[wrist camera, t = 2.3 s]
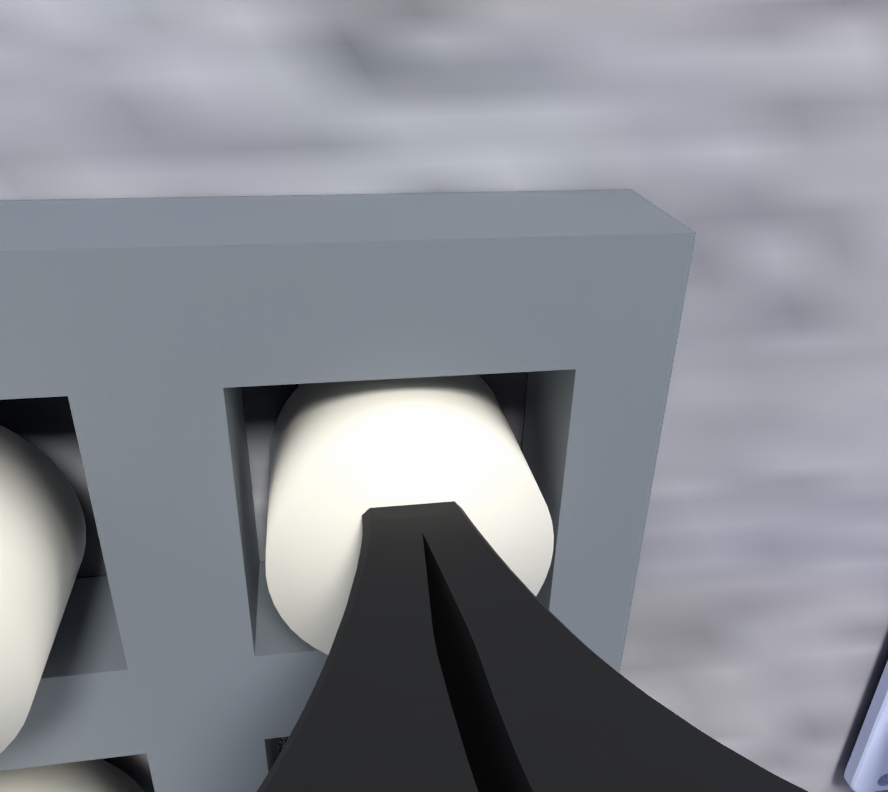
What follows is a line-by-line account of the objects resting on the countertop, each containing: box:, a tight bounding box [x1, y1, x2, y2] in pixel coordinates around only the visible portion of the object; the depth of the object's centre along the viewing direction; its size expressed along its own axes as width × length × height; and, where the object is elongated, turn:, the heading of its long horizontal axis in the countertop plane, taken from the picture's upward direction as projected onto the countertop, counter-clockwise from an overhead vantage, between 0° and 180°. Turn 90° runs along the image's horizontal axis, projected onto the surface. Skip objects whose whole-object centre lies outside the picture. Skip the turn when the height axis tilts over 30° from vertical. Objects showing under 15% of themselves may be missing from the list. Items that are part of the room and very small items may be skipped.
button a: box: [266, 374, 554, 655], centre depth 13 cm, size 4×4×3 cm
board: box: [0, 190, 696, 792], centre depth 15 cm, size 15×16×2 cm
